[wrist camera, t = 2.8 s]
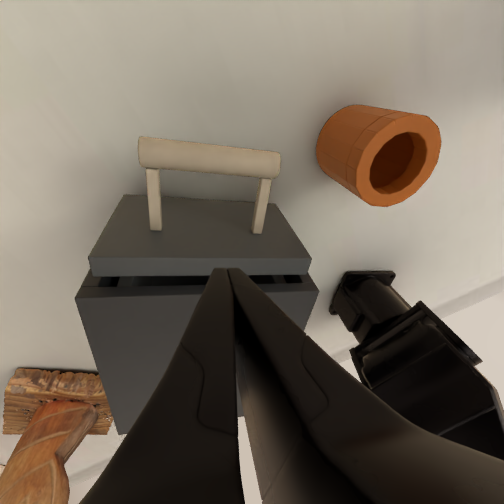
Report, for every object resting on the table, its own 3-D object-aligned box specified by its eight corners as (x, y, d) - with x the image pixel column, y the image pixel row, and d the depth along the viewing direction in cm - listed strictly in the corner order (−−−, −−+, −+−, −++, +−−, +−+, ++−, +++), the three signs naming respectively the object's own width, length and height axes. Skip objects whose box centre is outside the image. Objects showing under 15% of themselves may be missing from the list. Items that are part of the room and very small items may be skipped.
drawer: (113, 116, 15) (58, 144, 9) (289, 139, 18) (341, 172, 12) (141, 322, 25) (124, 404, 19) (251, 316, 28) (269, 386, 22)
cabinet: (120, 210, 19) (73, 298, 12) (275, 217, 22) (319, 291, 15) (138, 333, 27) (118, 435, 20) (251, 326, 30) (272, 412, 23)
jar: (391, 110, 19) (459, 121, 14) (364, 180, 22) (412, 209, 17) (328, 99, 18) (379, 107, 13) (307, 174, 21) (343, 204, 16)
